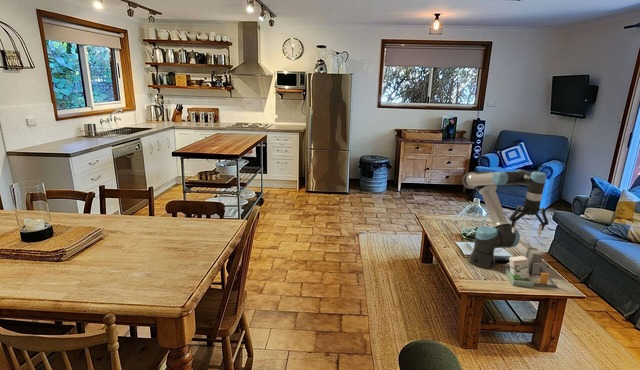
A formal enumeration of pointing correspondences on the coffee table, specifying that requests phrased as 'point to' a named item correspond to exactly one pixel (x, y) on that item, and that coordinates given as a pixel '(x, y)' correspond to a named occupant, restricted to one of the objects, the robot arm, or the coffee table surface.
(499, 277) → the coffee table surface
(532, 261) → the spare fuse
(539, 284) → the grey rectangular frame
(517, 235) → the robot arm
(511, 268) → the ink box
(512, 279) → the tray
